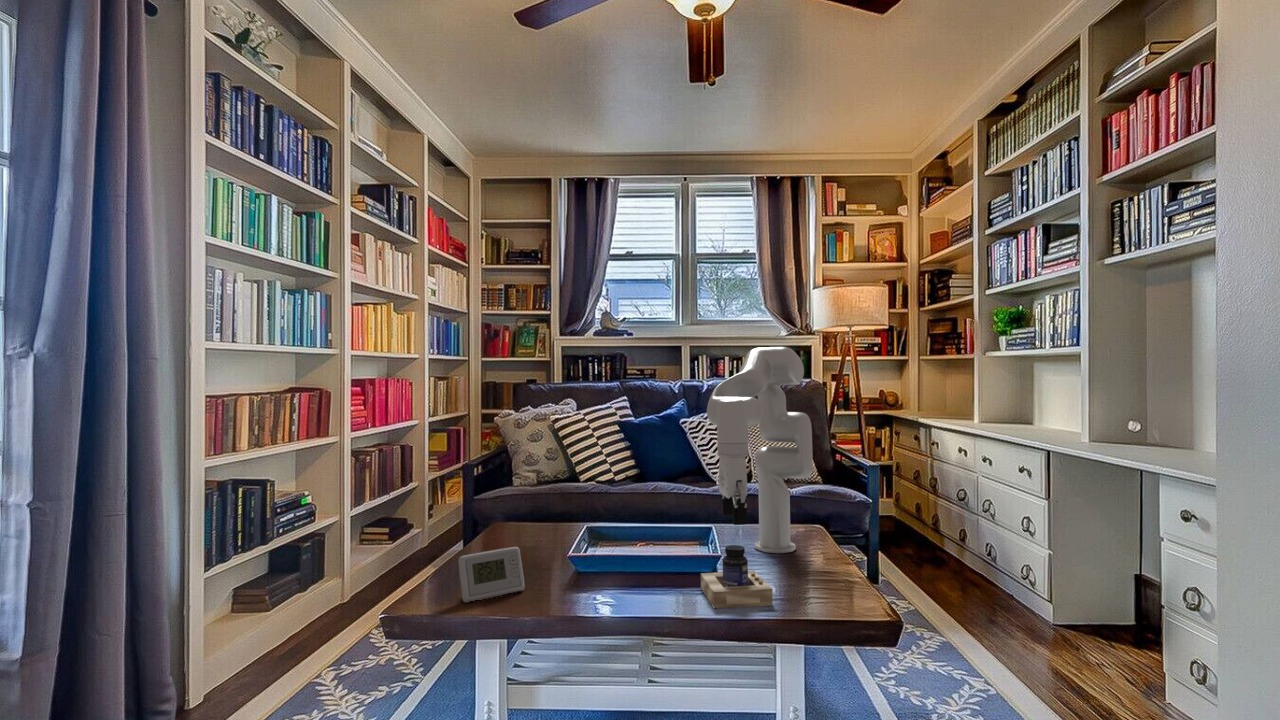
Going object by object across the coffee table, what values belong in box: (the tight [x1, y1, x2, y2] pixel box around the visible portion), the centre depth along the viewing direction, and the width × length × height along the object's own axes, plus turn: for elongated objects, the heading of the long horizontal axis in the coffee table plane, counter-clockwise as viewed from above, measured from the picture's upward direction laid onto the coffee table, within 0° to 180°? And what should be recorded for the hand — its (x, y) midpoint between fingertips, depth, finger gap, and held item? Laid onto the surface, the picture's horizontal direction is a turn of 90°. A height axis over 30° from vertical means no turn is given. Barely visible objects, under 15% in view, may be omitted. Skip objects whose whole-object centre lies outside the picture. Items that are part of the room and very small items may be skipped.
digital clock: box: [457, 546, 526, 603], centre depth 155 cm, size 16×9×11 cm, turn 113°
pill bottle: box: [722, 544, 749, 587], centre depth 152 cm, size 6×6×11 cm
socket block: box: [700, 570, 774, 609], centre depth 151 cm, size 14×14×4 cm
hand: (734, 519), depth 152 cm, fingers open, 9 cm apart
